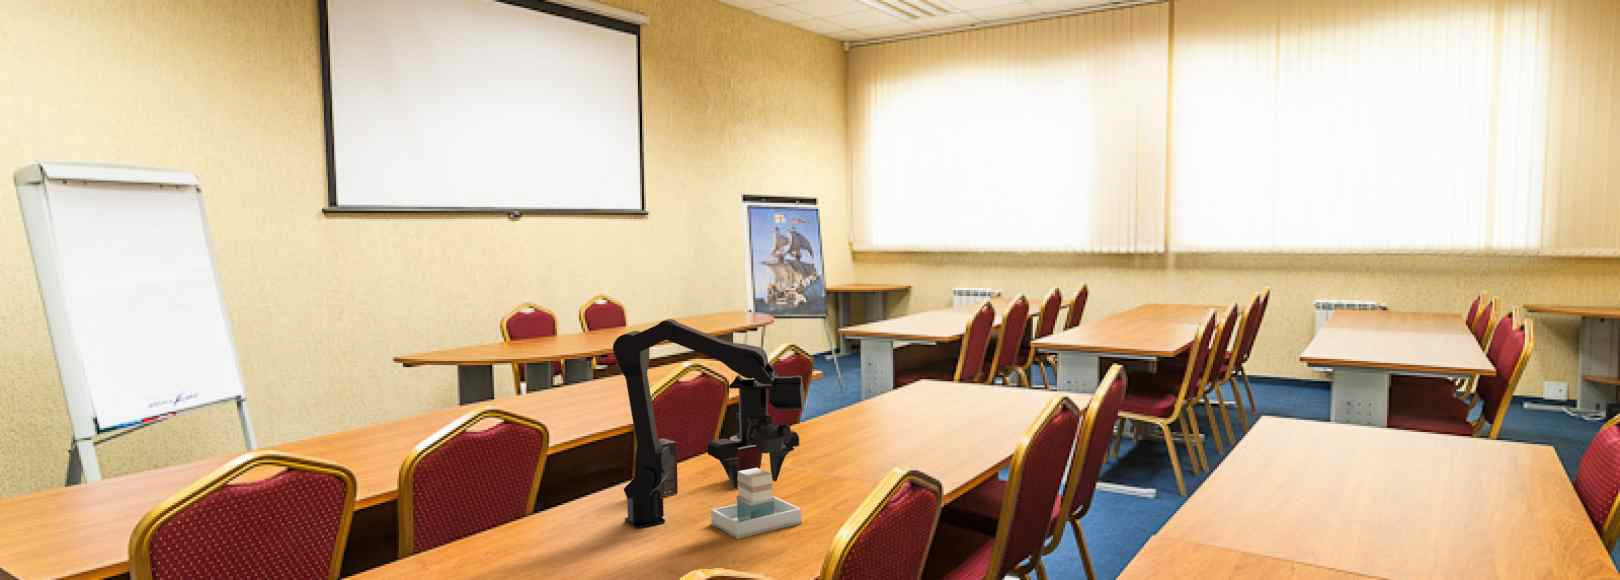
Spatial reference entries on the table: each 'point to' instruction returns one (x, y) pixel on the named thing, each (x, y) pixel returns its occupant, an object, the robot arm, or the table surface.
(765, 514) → the tin
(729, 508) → the tote
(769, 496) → the carton
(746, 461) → the mug
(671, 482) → the box
